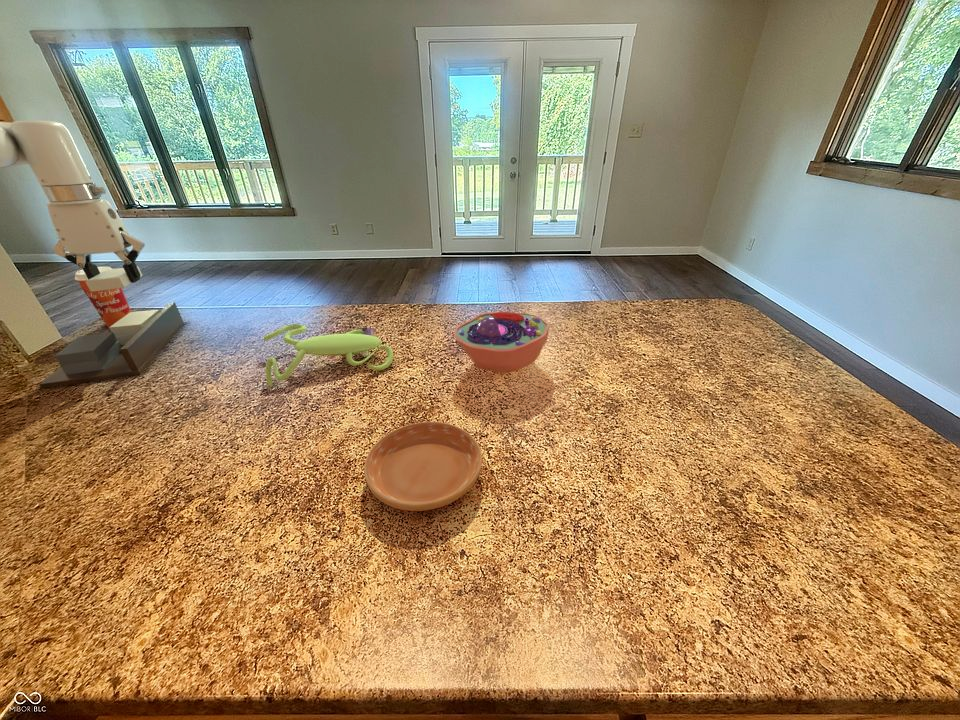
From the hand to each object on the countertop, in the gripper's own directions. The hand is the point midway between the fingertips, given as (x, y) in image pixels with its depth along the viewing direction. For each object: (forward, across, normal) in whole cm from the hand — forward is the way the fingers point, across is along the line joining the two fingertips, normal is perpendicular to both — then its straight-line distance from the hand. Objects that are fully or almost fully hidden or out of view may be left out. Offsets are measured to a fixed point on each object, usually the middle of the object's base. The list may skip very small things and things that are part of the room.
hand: (117, 281), depth 84 cm
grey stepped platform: (+14, +2, +6) cm, 15 cm away
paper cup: (+14, +10, -13) cm, 22 cm away
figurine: (+14, -42, +24) cm, 50 cm away
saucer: (+14, -56, +63) cm, 85 cm away
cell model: (+15, -77, +38) cm, 87 cm away
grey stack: (+14, +4, +12) cm, 19 cm away
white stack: (+14, 0, 0) cm, 14 cm away
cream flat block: (0, 0, 0) cm, 0 cm away
